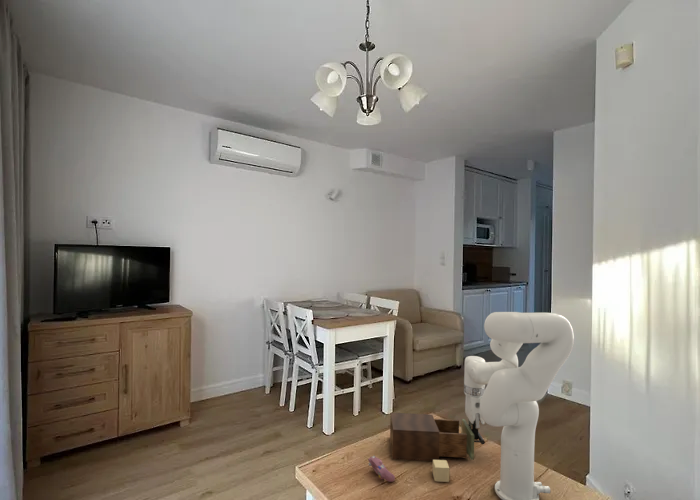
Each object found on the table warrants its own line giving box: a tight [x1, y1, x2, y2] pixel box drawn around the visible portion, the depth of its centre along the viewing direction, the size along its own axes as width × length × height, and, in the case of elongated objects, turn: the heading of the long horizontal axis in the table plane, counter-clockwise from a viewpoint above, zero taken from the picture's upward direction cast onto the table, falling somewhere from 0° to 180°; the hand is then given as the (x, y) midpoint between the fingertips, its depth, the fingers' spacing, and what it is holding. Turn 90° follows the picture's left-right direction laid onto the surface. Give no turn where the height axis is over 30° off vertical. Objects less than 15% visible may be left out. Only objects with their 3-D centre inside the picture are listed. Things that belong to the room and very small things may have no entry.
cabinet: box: [389, 412, 440, 462], centre depth 139 cm, size 17×15×11 cm
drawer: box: [434, 418, 486, 461], centre depth 139 cm, size 20×13×9 cm, turn 87°
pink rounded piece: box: [367, 455, 396, 483], centre depth 122 cm, size 10×5×7 cm, turn 25°
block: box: [432, 459, 450, 483], centre depth 122 cm, size 5×5×5 cm
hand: (473, 438), depth 139 cm, fingers closed
